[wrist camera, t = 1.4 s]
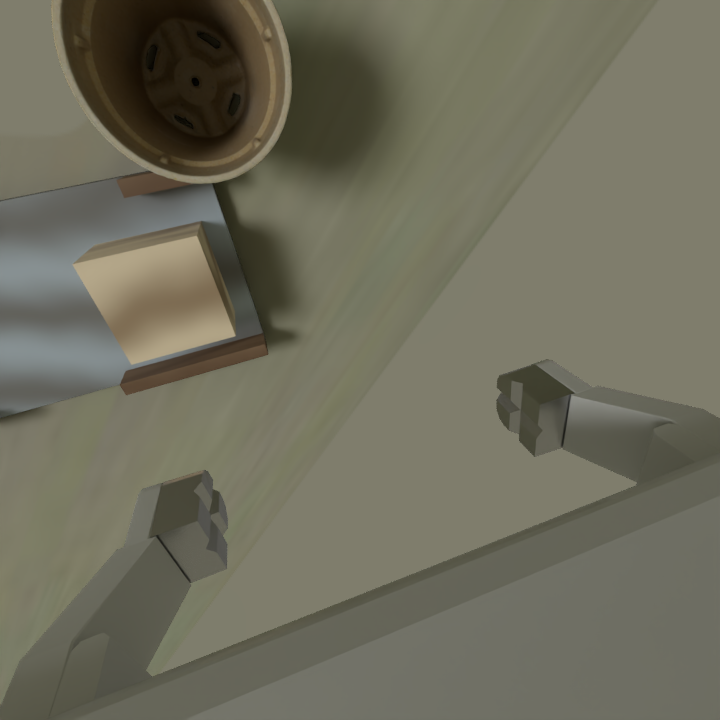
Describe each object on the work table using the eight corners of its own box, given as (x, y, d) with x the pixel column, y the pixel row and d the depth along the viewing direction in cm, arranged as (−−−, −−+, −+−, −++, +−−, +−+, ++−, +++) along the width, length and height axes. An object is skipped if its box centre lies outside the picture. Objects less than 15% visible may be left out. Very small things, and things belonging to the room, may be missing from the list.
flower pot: (276, 173, 27) (293, 188, 20) (128, 164, 25) (87, 179, 18) (271, -3, 23) (291, -63, 16) (87, -37, 20) (11, -127, 13)
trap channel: (-218, 244, 22) (-275, 258, 20) (204, 159, 26) (202, 162, 23) (-41, 423, 30) (-65, 449, 27) (265, 337, 33) (268, 354, 31)
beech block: (94, 244, 26) (72, 264, 22) (201, 220, 27) (196, 235, 23) (143, 335, 29) (131, 364, 26) (234, 311, 30) (236, 336, 27)
